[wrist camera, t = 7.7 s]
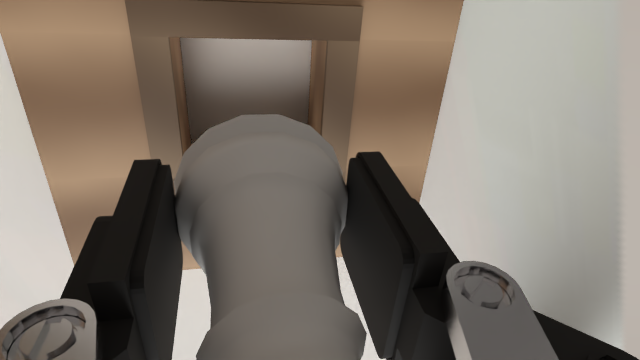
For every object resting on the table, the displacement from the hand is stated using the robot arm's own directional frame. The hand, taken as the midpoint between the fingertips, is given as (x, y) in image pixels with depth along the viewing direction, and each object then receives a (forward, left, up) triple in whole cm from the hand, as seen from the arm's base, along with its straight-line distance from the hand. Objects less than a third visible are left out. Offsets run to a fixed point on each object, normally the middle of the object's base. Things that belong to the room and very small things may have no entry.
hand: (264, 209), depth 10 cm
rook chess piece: (0, 0, -2) cm, 2 cm away
